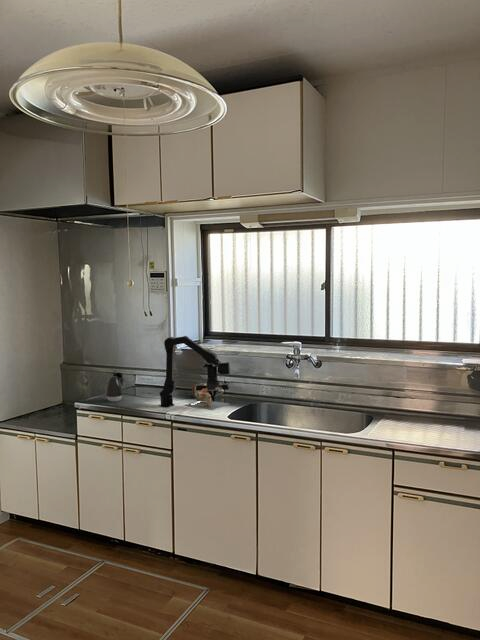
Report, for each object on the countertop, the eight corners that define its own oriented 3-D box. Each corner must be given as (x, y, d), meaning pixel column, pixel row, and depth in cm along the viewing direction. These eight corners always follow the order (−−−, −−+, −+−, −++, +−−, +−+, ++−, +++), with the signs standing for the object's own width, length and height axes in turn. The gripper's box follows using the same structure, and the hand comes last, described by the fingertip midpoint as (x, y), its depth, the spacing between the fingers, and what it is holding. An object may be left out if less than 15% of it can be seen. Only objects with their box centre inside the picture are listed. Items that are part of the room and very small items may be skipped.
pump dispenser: (121, 402, 329) (120, 377, 328) (103, 402, 329) (103, 377, 328) (125, 399, 339) (124, 374, 338) (108, 399, 339) (107, 374, 338)
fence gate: (208, 402, 323) (208, 394, 323) (211, 402, 323) (211, 394, 323) (207, 406, 312) (207, 398, 312) (210, 406, 312) (210, 398, 312)
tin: (194, 399, 336) (194, 385, 336) (190, 398, 338) (190, 385, 338) (210, 395, 348) (210, 382, 348) (206, 394, 350) (206, 381, 350)
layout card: (185, 405, 319) (185, 404, 319) (202, 400, 333) (202, 399, 333) (213, 409, 308) (213, 408, 308) (229, 404, 322) (229, 403, 322)
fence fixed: (196, 401, 329) (196, 392, 328) (198, 400, 330) (198, 391, 330) (210, 403, 323) (210, 394, 323) (212, 402, 325) (212, 393, 324)
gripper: (193, 377, 308) (195, 405, 309) (227, 376, 306) (228, 404, 308) (196, 374, 319) (198, 400, 320) (228, 373, 317) (230, 400, 319)
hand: (213, 401), depth 316 cm, fingers closed
